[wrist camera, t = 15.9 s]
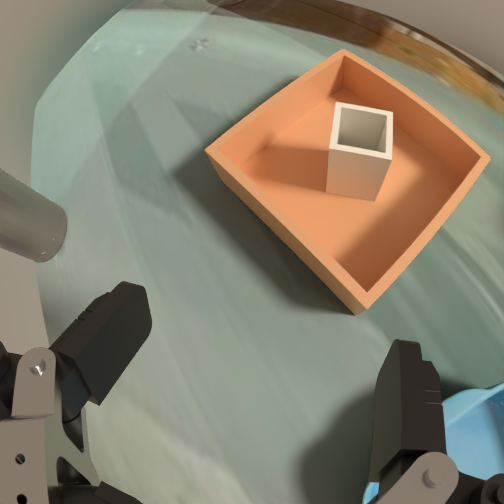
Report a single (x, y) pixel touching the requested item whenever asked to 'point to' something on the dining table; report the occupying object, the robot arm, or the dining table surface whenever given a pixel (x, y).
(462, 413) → the casserole dish
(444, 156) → the large crate
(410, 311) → the dining table surface
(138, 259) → the dining table surface
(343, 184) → the small crate
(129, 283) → the robot arm
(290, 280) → the dining table surface
